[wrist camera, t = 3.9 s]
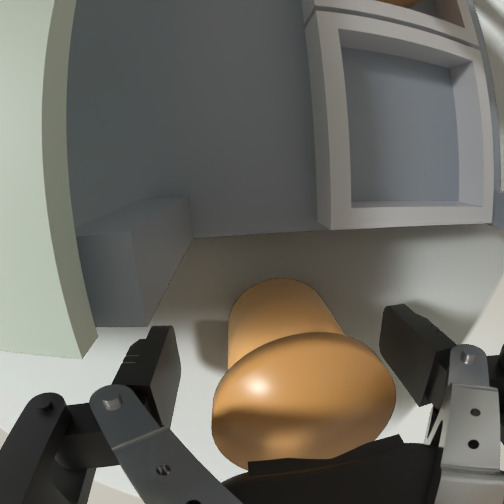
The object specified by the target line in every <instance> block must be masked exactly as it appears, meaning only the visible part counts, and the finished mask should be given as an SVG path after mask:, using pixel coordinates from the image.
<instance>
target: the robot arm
mask: <svg viewBox="0 0 504 504" xmlns="http://www.w3.org/2000/svg"><path fill="white" fill-rule="evenodd" d="M379 347H380V352H381V355H382V356H383V358H384V359H385V361H386V362H387V363H388V365H389V366H390V367H391V369H392V370H393V371H394V373H395V374H396V375H397V377H398V378H399V379H400V381H401V382H402V384H403V385H404V386H405V388H406V389H407V390H408V392H409V393H410V395H411V396H412V397H413V399H414V400H415V402H416V403H417V404H418V406H419V407H421V406H424V405H427V404H430V403H432V404H433V407H432V410H431V412H430V417H429V422H428V427H427V431H426V435H425V439H424V443H423V444H420V443H404V442H403V440H402V439H401V437H400V435H399V434H397V435H394V436H391V437H387V438H384V439H380V440H376V441H372V442H368V443H365V444H363V445H361V446H359V447H357V448H355V449H352V450H350V451H348V452H346V453H344V454H341V455H339V456H337V457H334V458H331V459H303V458H281V459H272V460H262V461H249V462H248V472H247V473H243V474H240V475H237V476H234V477H232V478H230V479H228V480H226V481H223V482H222V483H220V482H219V481H218V480H217V479H216V478H215V477H214V476H213V475H212V474H211V473H210V472H209V471H208V470H207V469H206V468H205V467H204V466H203V465H202V464H201V463H200V462H199V461H198V460H197V459H196V458H195V457H194V456H193V454H192V453H191V452H190V451H189V450H188V449H187V448H186V447H185V446H184V445H183V444H182V442H181V441H180V440H179V439H178V438H177V437H176V436H175V435H174V433H173V432H172V431H171V430H170V426H171V421H172V416H173V411H174V406H175V401H176V396H177V391H178V387H179V382H180V377H181V364H180V358H179V353H178V348H177V343H176V337H175V332H174V328H173V326H172V325H170V326H152V327H151V329H150V331H149V333H148V336H147V338H146V339H139V340H138V341H137V342H135V343H134V344H133V345H132V346H130V348H129V350H128V352H127V354H126V357H125V358H124V360H123V363H122V364H121V366H120V368H119V370H118V372H117V374H116V376H115V378H114V380H113V382H112V384H111V385H108V386H105V387H102V388H100V389H98V390H97V391H96V392H94V393H93V395H92V396H91V398H90V401H89V403H84V404H76V405H66V403H65V401H64V399H63V397H62V396H61V395H59V394H56V393H43V394H40V395H37V396H35V397H34V398H32V399H31V400H30V401H29V402H28V404H27V405H26V407H25V408H24V410H23V412H22V413H21V415H20V417H19V418H18V420H17V422H16V423H15V425H14V427H13V428H12V430H11V432H10V434H9V435H8V437H7V439H6V441H5V443H4V444H3V446H2V448H1V450H0V504H87V501H88V497H89V493H90V490H91V486H92V482H93V478H94V475H95V471H96V468H98V467H107V466H115V465H121V467H122V469H123V470H124V472H125V474H126V475H127V477H128V479H129V480H130V482H131V483H132V485H133V486H134V488H135V489H136V491H137V493H138V494H139V496H140V497H141V498H142V500H143V501H144V503H145V504H504V471H501V470H500V441H501V442H502V443H503V445H504V345H503V346H502V349H501V352H500V355H495V356H486V354H485V352H484V351H483V350H482V349H480V348H478V347H476V346H473V345H469V344H461V345H456V344H455V343H454V342H453V341H452V340H451V339H450V338H448V337H447V336H446V335H445V334H444V333H443V332H442V331H440V330H439V329H438V328H437V327H436V326H434V324H432V323H431V322H430V321H429V320H428V319H427V318H425V317H422V316H420V315H418V314H415V313H414V312H413V311H412V310H411V309H410V308H409V307H407V306H406V305H405V304H399V305H392V306H387V307H385V309H384V312H383V319H382V327H381V334H380V341H379Z"/></svg>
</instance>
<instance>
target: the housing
mask: <svg viewBox="0 0 504 504" xmlns="http://www.w3.org/2000/svg"><path fill="white" fill-rule="evenodd" d="M66 138H67V161H68V175H69V187H70V197H71V206H72V214H73V221H74V228H75V235H76V241H77V247H78V253H79V259H80V264H81V269H82V274H83V279H84V283H85V288H86V292H87V297H88V301H89V305H90V309H91V313H92V317H93V320H94V324H95V327H147V326H148V324H149V322H150V320H151V318H152V316H153V314H154V312H155V310H156V308H157V306H158V304H159V302H160V300H161V298H162V296H163V295H164V293H165V291H166V289H167V287H168V285H169V283H170V281H171V279H172V277H173V275H174V273H175V271H176V269H177V268H178V266H179V264H180V262H181V260H182V258H183V256H184V254H185V253H186V251H187V249H188V247H189V245H190V243H191V241H192V240H193V239H194V238H208V237H222V236H237V235H252V234H267V233H283V232H299V231H316V230H346V229H365V228H385V227H406V226H429V225H454V224H482V223H484V224H488V225H491V226H494V227H497V228H500V229H503V230H504V191H500V182H501V167H500V140H499V126H498V116H497V107H496V99H495V92H494V85H493V79H492V74H491V69H490V64H489V59H488V54H487V50H486V46H485V42H484V38H483V34H482V30H481V27H480V23H479V20H478V16H477V13H476V10H475V7H474V4H473V1H472V0H420V1H419V2H417V3H416V4H415V5H413V6H412V7H410V8H408V9H407V8H404V7H400V6H396V5H392V4H388V3H384V2H380V1H375V0H77V1H76V6H75V12H74V18H73V25H72V32H71V41H70V50H69V61H68V75H67V97H66Z"/></svg>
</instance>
